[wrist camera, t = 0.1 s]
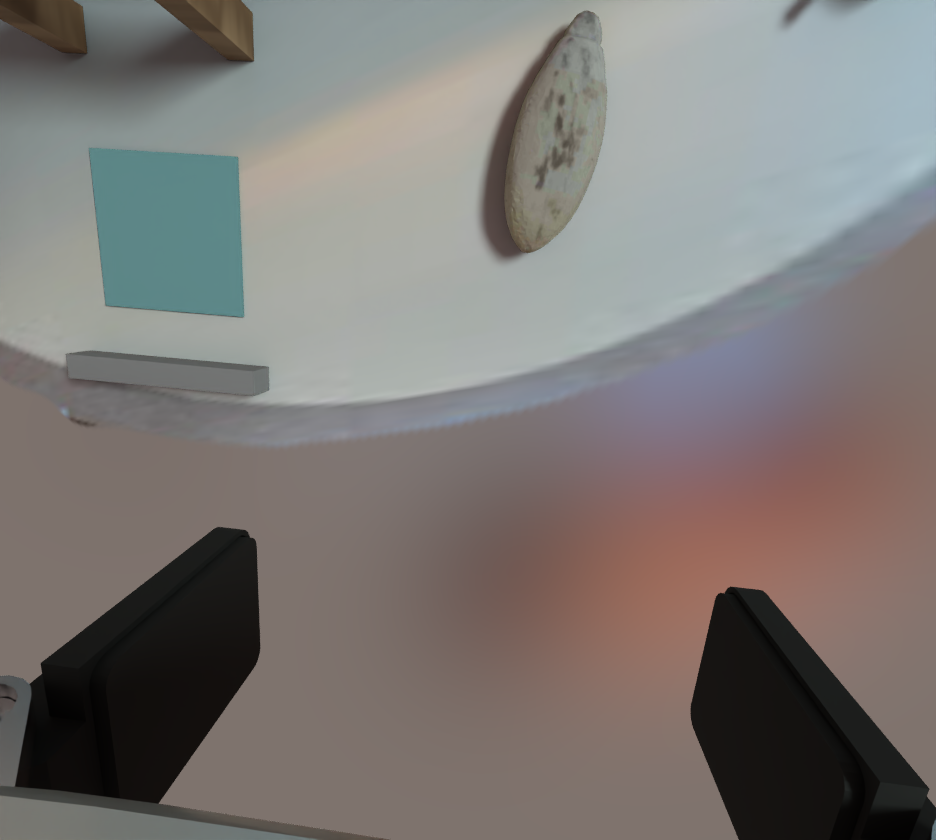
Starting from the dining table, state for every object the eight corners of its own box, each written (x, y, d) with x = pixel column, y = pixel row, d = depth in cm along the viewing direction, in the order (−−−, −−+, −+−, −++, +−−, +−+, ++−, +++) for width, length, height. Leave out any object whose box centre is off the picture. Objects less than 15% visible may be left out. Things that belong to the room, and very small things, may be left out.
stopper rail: (91, 350, 43) (65, 354, 41) (268, 366, 42) (253, 371, 39) (93, 373, 43) (68, 377, 41) (269, 390, 42) (254, 395, 40)
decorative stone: (627, 33, 34) (639, 4, 31) (568, 264, 38) (573, 261, 35) (540, 16, 34) (542, -14, 31) (490, 247, 38) (488, 243, 35)
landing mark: (91, 148, 39) (88, 147, 39) (237, 157, 38) (236, 156, 38) (107, 305, 42) (105, 305, 42) (244, 316, 41) (242, 316, 41)
